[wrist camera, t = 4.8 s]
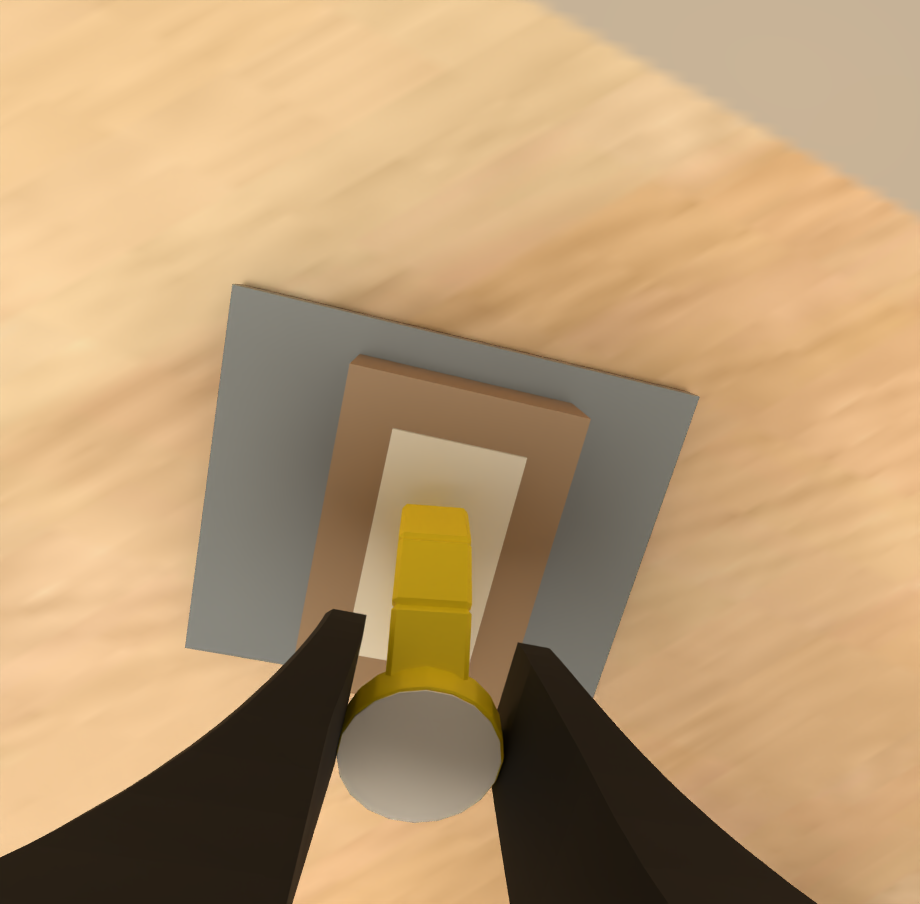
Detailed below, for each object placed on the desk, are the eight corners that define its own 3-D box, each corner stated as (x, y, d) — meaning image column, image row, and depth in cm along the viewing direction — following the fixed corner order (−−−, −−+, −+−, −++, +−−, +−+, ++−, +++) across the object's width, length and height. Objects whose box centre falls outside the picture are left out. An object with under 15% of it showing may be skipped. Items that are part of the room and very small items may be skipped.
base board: (687, 391, 17) (737, 412, 14) (580, 699, 20) (605, 766, 17) (242, 284, 16) (201, 283, 13) (195, 632, 18) (153, 694, 16)
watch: (466, 674, 16) (482, 899, 11) (366, 668, 16) (329, 894, 10) (491, 475, 14) (528, 620, 9) (378, 466, 14) (341, 608, 8)
